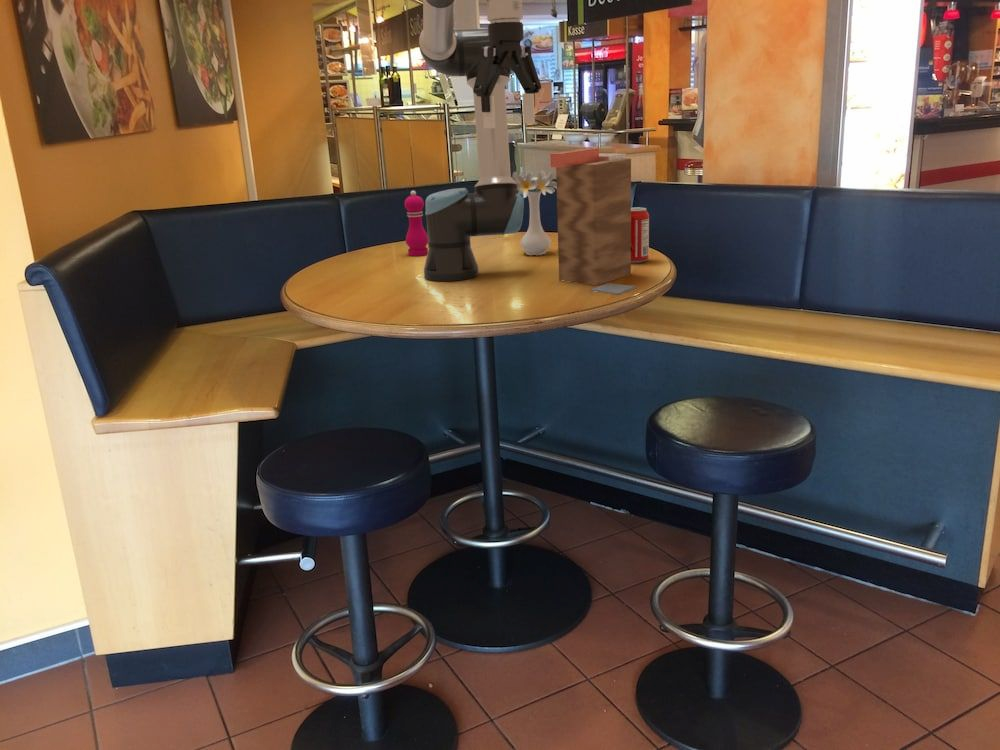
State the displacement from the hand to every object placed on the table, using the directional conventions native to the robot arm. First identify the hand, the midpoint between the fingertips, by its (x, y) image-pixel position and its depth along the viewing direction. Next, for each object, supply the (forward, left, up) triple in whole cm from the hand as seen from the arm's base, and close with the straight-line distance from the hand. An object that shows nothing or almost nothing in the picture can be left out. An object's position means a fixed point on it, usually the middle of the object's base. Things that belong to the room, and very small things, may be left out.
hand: (510, 126), depth 184 cm
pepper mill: (-31, +71, -41) cm, 87 cm away
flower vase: (+7, +63, -41) cm, 75 cm away
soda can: (+34, +44, -41) cm, 69 cm away
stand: (+21, +26, -41) cm, 52 cm away
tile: (+24, +11, -41) cm, 49 cm away
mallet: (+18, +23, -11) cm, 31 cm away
